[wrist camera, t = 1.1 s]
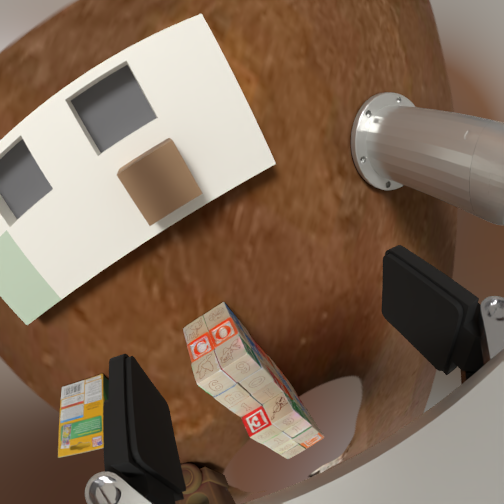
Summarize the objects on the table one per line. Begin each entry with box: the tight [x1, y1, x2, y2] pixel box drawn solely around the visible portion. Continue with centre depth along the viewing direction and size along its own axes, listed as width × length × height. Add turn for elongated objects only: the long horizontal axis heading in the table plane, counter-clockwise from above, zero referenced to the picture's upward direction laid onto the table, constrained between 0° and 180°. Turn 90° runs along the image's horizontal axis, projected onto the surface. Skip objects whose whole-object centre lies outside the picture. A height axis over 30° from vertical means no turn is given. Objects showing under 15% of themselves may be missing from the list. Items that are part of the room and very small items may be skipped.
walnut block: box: [117, 138, 203, 226], centre depth 25 cm, size 5×5×3 cm
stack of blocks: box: [183, 302, 324, 459], centre depth 37 cm, size 21×6×12 cm, turn 28°
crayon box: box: [58, 374, 109, 457], centre depth 30 cm, size 7×3×12 cm, turn 104°
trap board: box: [0, 14, 276, 325], centre depth 25 cm, size 31×16×2 cm, turn 115°
